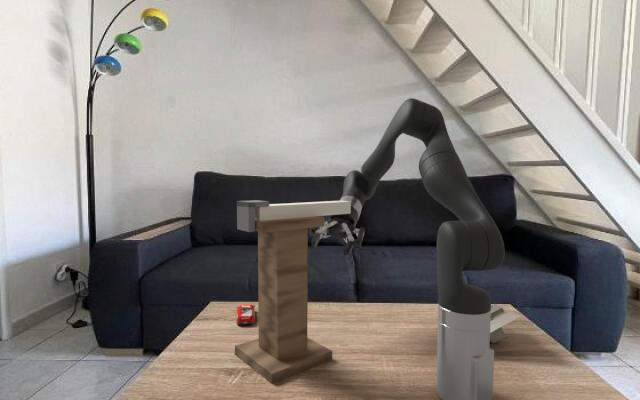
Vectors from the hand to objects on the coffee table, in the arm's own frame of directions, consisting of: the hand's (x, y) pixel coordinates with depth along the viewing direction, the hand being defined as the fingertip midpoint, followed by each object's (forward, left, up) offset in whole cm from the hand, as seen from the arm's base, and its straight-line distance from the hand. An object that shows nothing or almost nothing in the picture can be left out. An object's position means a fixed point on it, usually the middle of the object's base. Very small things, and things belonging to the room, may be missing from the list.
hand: (329, 249), depth 100 cm
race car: (+24, +11, -23) cm, 35 cm away
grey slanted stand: (-27, -27, -23) cm, 44 cm away
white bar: (-3, +12, +8) cm, 14 cm away
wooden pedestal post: (-3, +16, -22) cm, 28 cm away
